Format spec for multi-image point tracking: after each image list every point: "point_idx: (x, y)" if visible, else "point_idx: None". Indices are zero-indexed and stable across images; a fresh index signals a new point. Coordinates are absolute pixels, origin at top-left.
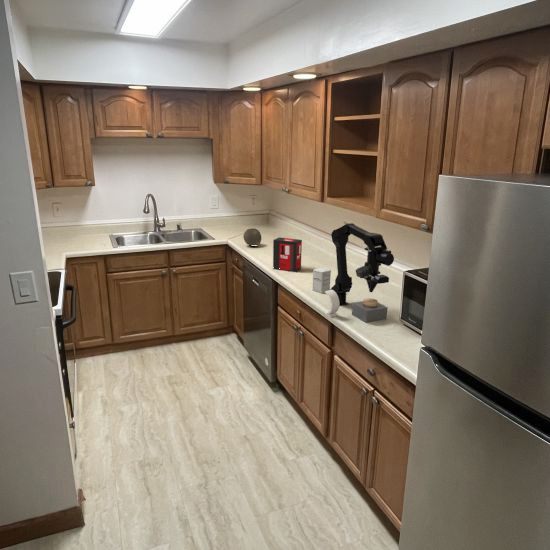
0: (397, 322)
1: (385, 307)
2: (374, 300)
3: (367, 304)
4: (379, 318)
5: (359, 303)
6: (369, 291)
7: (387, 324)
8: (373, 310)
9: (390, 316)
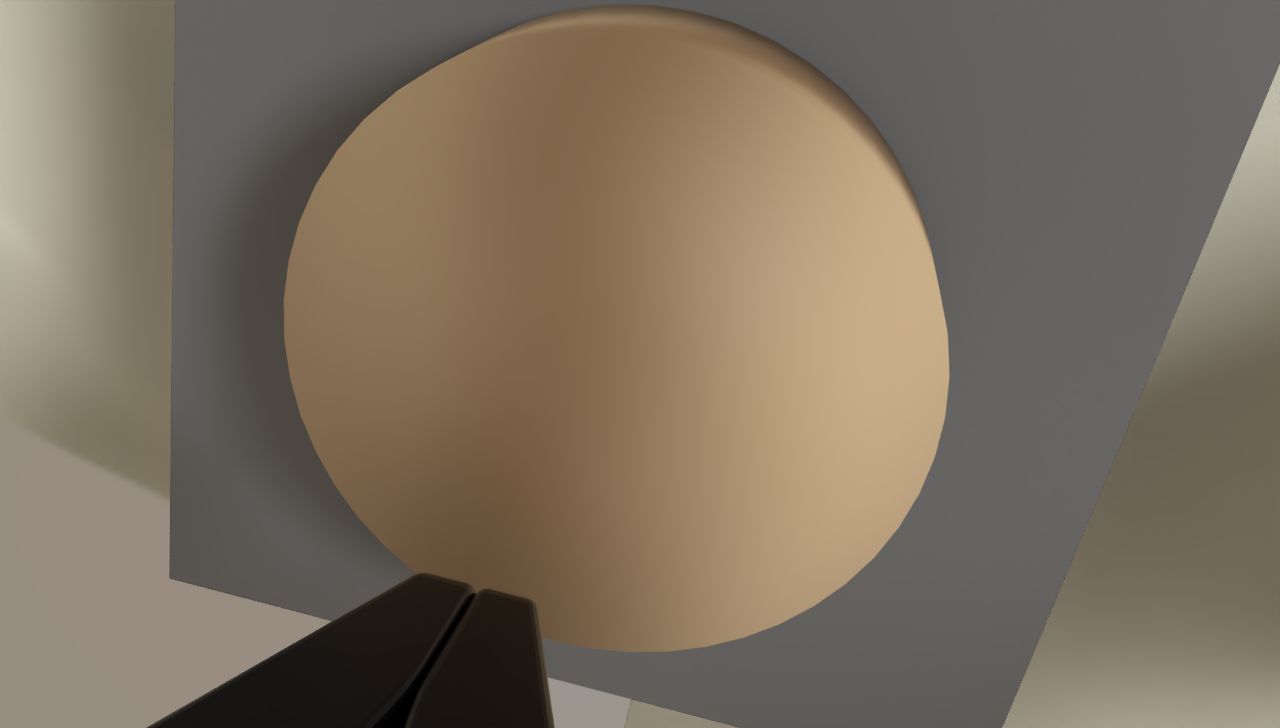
0: (101, 448)
1: (190, 527)
2: (521, 530)
3: (478, 45)
4: None
5: (1034, 81)
6: (528, 604)
7: (87, 173)
8: (194, 15)
9: None
